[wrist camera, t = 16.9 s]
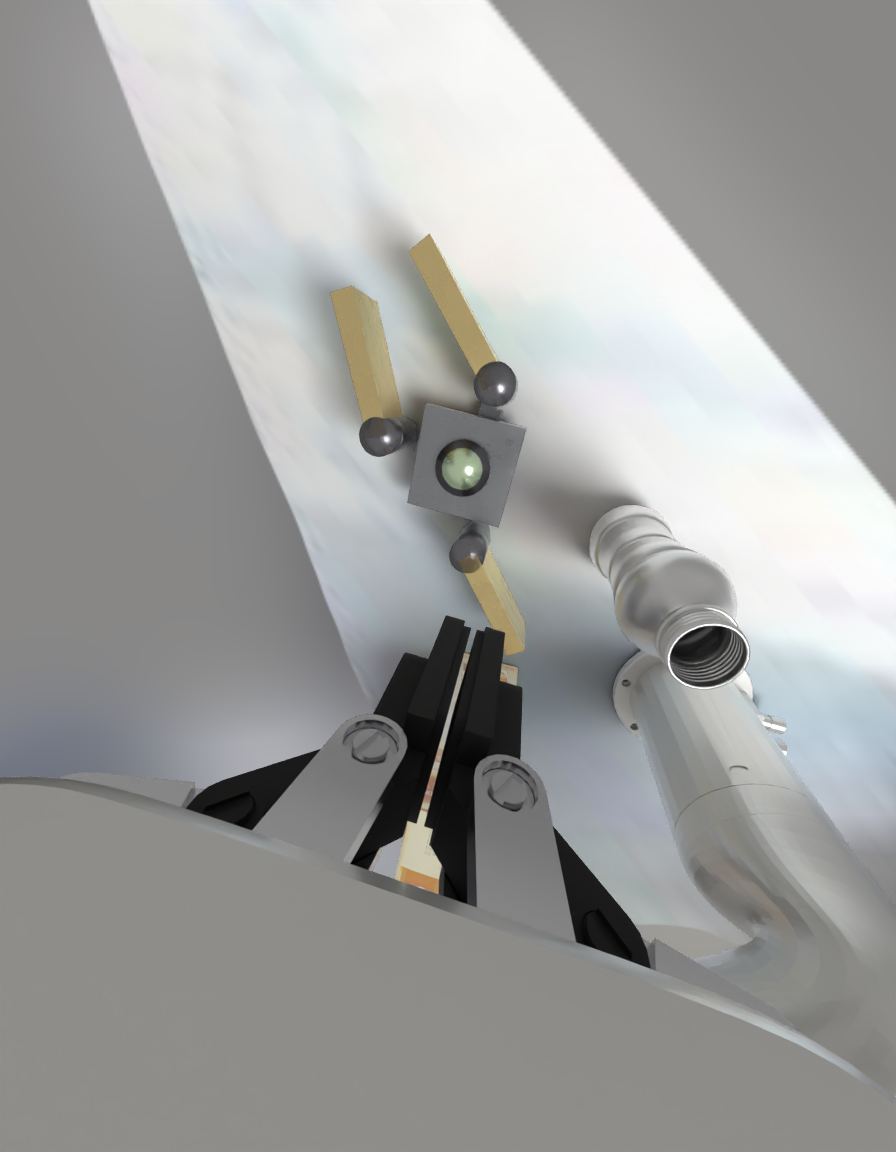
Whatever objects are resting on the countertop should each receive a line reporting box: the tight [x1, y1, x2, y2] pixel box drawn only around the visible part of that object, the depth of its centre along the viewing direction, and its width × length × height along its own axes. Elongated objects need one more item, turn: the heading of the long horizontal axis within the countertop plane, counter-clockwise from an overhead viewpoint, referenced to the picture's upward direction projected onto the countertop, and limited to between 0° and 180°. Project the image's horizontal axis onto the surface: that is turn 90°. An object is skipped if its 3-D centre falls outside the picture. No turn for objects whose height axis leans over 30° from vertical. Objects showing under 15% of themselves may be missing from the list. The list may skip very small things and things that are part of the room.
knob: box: [449, 521, 525, 656], centre depth 38 cm, size 11×3×8 cm, turn 27°
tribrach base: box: [407, 403, 527, 527], centre depth 36 cm, size 9×10×5 cm
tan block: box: [330, 286, 417, 457], centre depth 33 cm, size 11×3×8 cm, turn 11°
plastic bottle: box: [589, 505, 750, 690], centre depth 29 cm, size 6×7×20 cm
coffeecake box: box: [394, 653, 518, 894], centre depth 40 cm, size 15×7×20 cm, turn 169°
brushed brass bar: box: [409, 234, 518, 407], centre depth 31 cm, size 11×3×8 cm, turn 32°
